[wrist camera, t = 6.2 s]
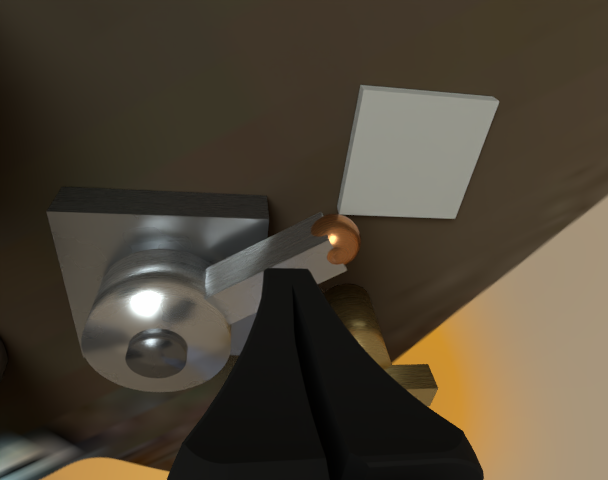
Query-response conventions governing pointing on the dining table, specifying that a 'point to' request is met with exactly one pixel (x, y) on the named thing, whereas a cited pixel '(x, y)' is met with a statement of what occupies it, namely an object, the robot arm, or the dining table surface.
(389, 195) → the mat
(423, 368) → the gold cylinder with bar
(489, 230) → the dining table surface
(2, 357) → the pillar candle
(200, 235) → the chuck base
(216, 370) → the silver lever handle
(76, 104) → the dining table surface
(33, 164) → the dining table surface
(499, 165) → the dining table surface
